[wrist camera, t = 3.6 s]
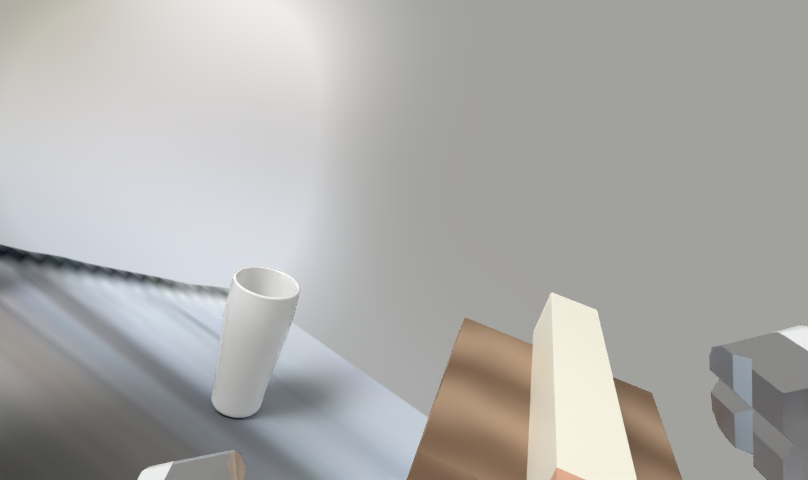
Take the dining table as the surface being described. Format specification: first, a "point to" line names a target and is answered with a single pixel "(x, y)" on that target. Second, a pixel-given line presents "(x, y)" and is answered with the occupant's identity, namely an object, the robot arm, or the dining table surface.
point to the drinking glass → (252, 338)
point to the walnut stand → (513, 415)
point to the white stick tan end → (574, 400)
